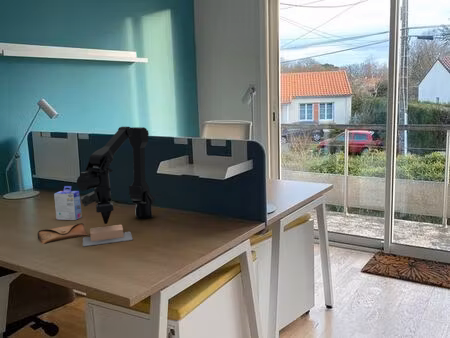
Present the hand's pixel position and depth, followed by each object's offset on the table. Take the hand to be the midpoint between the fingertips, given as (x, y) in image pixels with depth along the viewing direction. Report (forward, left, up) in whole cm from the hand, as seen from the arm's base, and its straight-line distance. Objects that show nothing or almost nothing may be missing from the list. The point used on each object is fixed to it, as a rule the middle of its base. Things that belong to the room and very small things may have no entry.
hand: (105, 223), depth 176 cm
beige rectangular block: (0, +1, -2) cm, 3 cm away
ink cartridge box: (+15, -29, -4) cm, 33 cm away
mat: (0, +8, -4) cm, 8 cm away
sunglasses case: (+16, -2, -5) cm, 17 cm away
